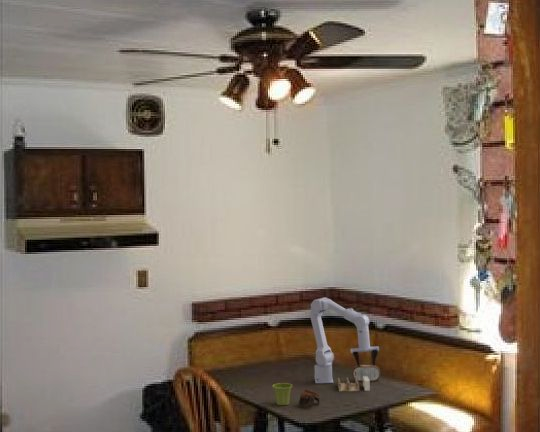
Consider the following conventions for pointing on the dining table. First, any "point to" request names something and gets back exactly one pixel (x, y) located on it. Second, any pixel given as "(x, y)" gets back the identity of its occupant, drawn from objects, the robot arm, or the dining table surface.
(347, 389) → the rack
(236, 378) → the dining table surface
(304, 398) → the pottery mug
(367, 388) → the tile
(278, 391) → the plant pot
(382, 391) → the dining table surface
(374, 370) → the tin
